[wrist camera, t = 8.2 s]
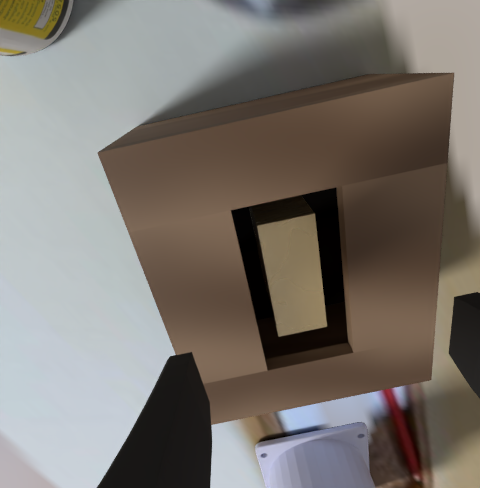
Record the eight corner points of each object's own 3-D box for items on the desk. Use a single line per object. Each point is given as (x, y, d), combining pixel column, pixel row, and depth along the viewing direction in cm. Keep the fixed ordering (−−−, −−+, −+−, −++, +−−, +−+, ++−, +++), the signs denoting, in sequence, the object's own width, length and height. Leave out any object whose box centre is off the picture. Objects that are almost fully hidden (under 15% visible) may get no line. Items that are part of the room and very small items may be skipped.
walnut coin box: (375, 302, 20) (431, 379, 15) (205, 337, 20) (203, 426, 15) (368, 74, 14) (454, 73, 9) (137, 126, 14) (97, 152, 9)
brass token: (298, 265, 18) (326, 326, 14) (262, 272, 18) (278, 336, 14) (286, 175, 16) (314, 213, 11) (244, 184, 16) (257, 226, 12)
